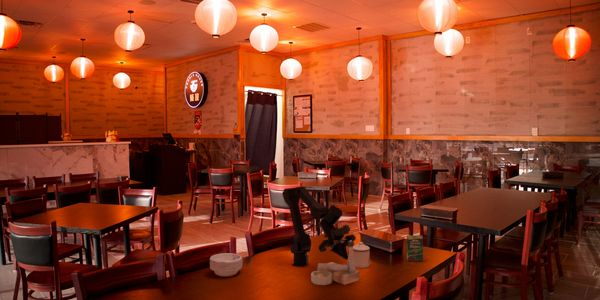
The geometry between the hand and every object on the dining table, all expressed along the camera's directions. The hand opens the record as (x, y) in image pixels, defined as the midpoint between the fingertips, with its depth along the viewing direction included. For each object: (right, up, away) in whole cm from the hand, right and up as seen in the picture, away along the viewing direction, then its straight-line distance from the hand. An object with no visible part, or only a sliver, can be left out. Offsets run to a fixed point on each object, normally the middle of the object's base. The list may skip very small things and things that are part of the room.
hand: (346, 259), depth 194 cm
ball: (-11, -9, +1) cm, 14 cm away
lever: (-4, -6, +3) cm, 8 cm away
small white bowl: (-11, -11, +3) cm, 16 cm away
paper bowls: (-56, -11, +15) cm, 59 cm away
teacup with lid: (+9, -10, +27) cm, 30 cm away
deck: (-3, -10, +9) cm, 14 cm away
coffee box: (+38, -9, +33) cm, 51 cm away
